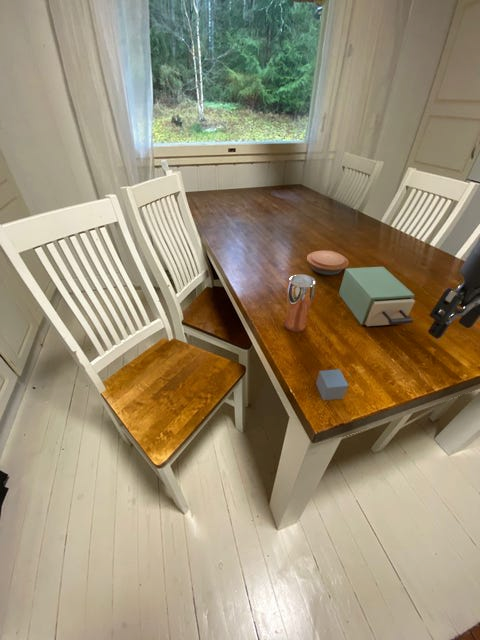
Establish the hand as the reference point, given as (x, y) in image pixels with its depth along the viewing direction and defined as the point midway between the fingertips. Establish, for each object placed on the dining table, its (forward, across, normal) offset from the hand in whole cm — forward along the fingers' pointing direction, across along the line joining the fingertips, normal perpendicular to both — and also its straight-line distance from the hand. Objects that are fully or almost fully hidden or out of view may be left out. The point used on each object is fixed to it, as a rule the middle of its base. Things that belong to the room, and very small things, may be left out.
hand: (449, 330), depth 53 cm
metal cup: (+17, -15, +28) cm, 36 cm away
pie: (+18, +15, +54) cm, 59 cm away
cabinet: (+17, +12, +28) cm, 34 cm away
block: (+17, -20, +5) cm, 26 cm away
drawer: (+16, +10, +23) cm, 30 cm away
